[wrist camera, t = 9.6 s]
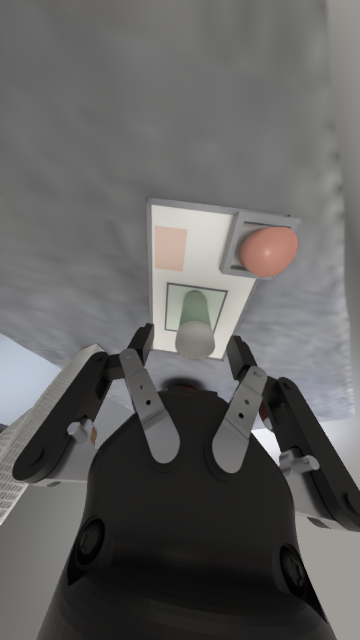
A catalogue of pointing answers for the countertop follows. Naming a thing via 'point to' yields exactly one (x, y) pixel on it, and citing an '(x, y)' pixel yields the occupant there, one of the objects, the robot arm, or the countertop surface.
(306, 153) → the countertop surface
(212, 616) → the robot arm
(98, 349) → the skyscraper
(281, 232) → the button
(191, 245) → the white flat board
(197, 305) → the marker
